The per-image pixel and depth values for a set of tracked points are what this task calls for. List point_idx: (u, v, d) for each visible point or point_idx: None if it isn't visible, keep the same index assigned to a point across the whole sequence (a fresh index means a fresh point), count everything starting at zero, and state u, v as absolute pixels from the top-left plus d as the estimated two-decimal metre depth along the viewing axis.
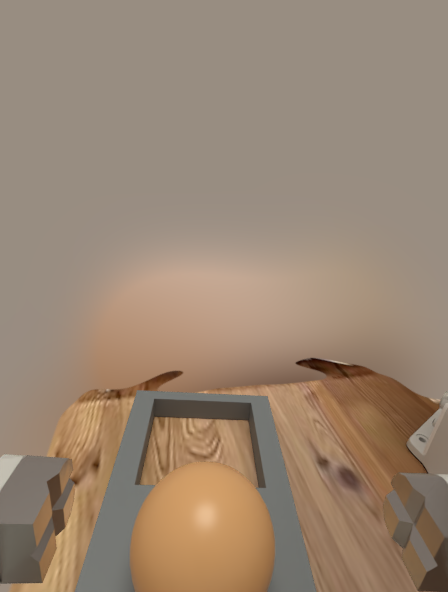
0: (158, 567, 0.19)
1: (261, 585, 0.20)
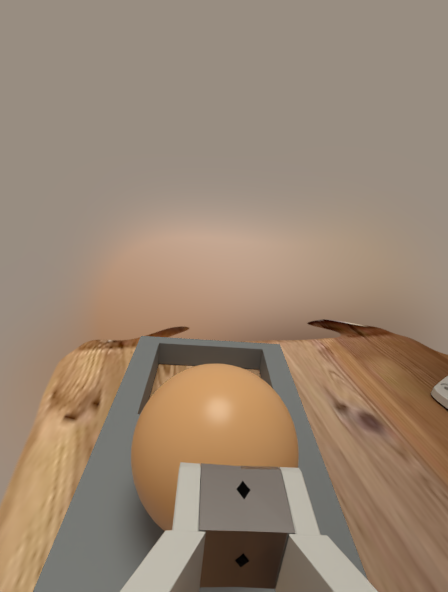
0: (164, 452, 0.16)
1: None
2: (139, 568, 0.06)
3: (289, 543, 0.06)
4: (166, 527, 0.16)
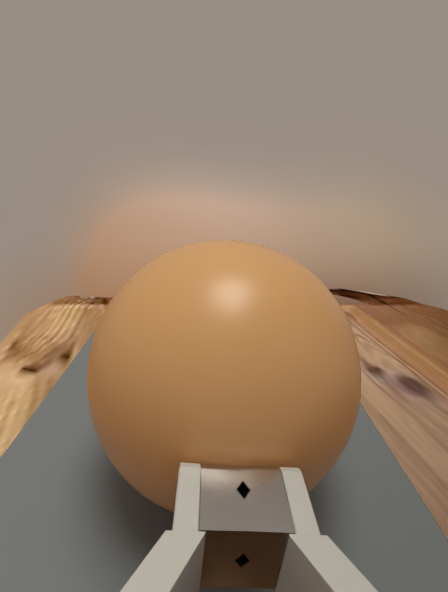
0: (137, 336, 0.09)
1: (350, 397, 0.10)
2: (139, 568, 0.06)
3: (289, 543, 0.06)
4: (139, 478, 0.09)
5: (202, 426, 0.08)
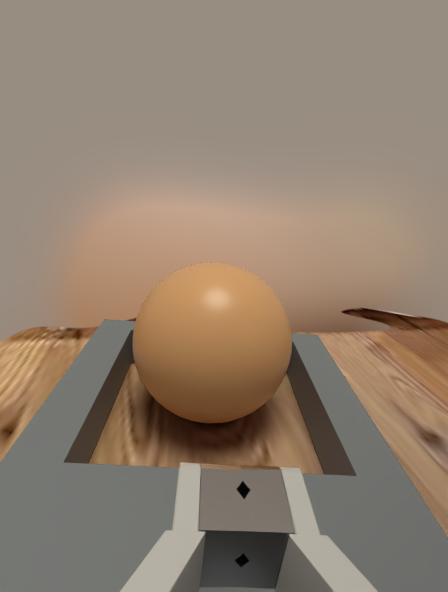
0: None
1: None
2: (139, 568, 0.06)
3: (289, 543, 0.06)
4: None
5: None
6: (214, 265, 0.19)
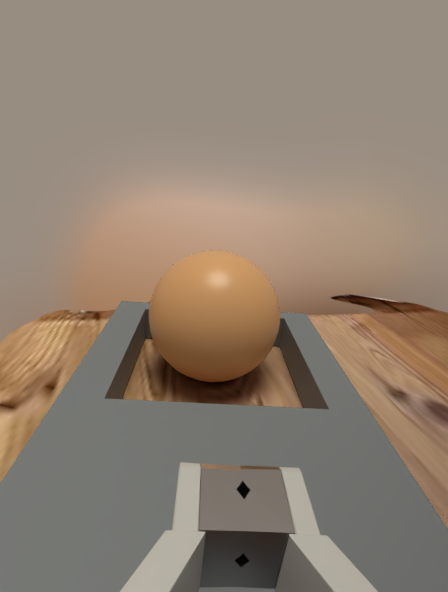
0: None
1: None
2: (139, 568, 0.06)
3: (289, 543, 0.06)
4: None
5: None
6: (214, 253, 0.23)
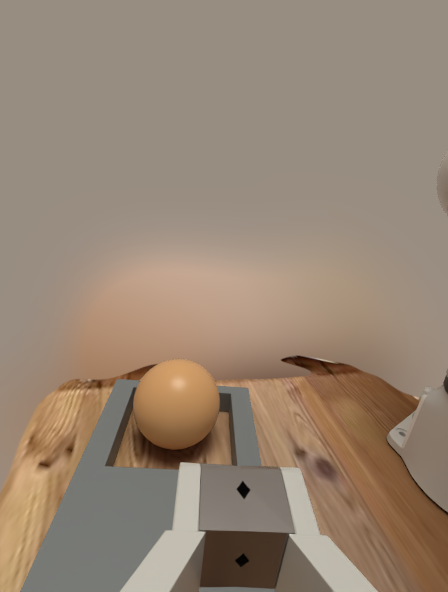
0: None
1: None
2: (139, 568, 0.06)
3: (289, 543, 0.06)
4: None
5: None
6: (174, 369, 0.36)
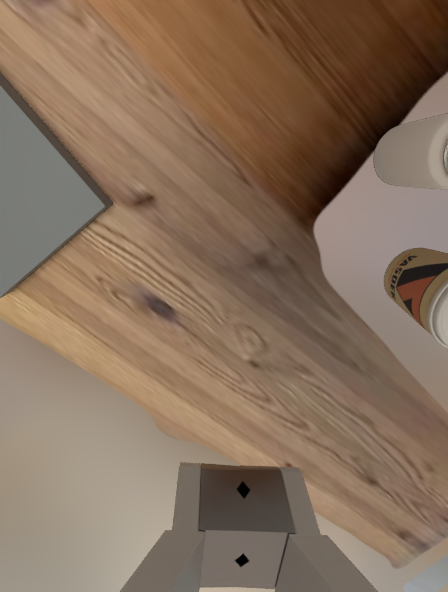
0: None
1: None
2: (139, 568, 0.06)
3: (289, 543, 0.06)
4: None
5: None
6: None
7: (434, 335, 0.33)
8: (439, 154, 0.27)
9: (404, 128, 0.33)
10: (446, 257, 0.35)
